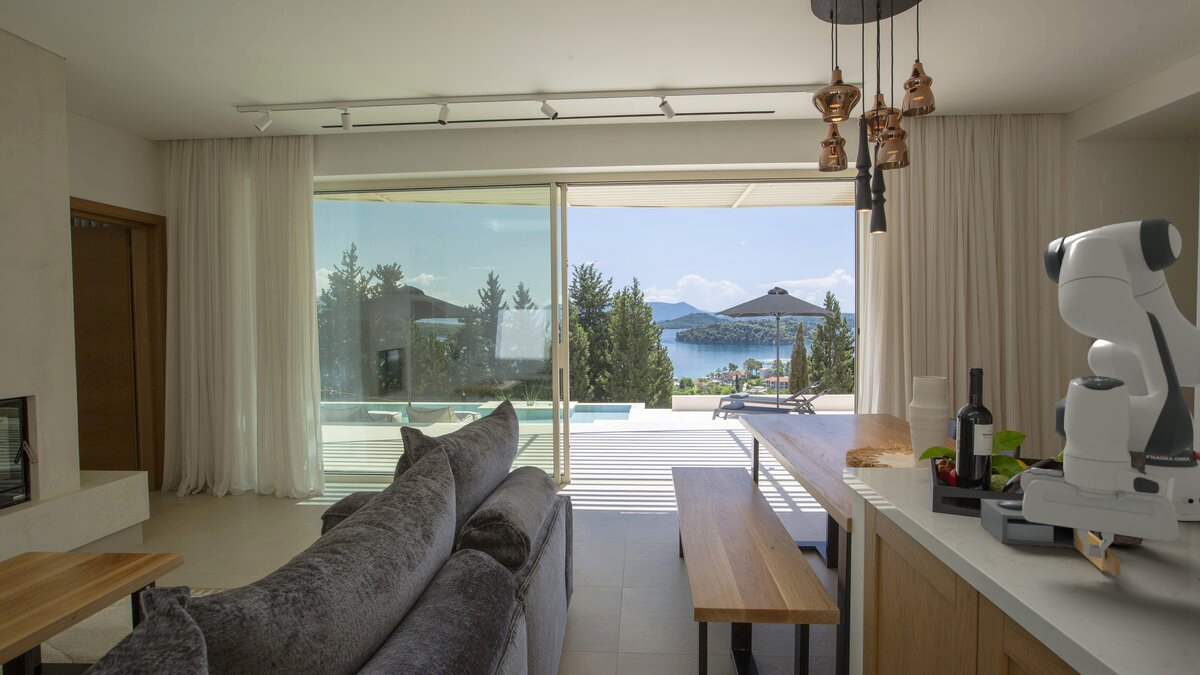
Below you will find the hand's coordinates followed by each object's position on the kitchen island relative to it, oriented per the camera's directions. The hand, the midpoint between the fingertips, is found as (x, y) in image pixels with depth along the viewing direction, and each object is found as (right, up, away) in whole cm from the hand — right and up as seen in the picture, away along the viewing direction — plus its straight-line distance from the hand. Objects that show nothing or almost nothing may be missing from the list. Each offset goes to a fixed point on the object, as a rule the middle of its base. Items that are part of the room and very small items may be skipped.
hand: (1094, 556), depth 103 cm
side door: (+3, -3, +4) cm, 6 cm away
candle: (+16, -3, +15) cm, 22 cm away
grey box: (+3, -3, +18) cm, 19 cm away
